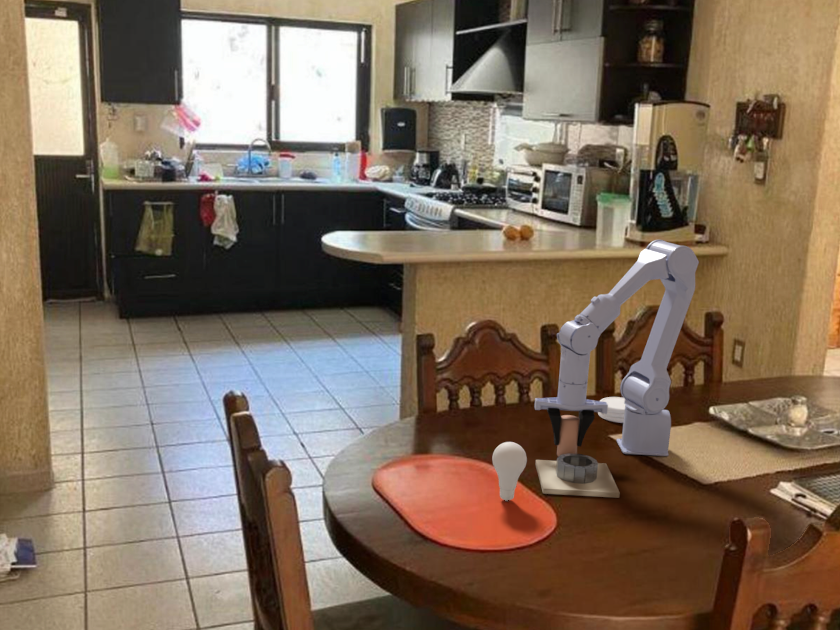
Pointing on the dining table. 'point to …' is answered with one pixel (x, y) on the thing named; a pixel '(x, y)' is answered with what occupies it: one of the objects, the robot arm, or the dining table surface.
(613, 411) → the coaster
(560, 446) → the peg
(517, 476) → the lightbulb
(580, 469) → the socket board
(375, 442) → the dining table surface
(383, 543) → the dining table surface
